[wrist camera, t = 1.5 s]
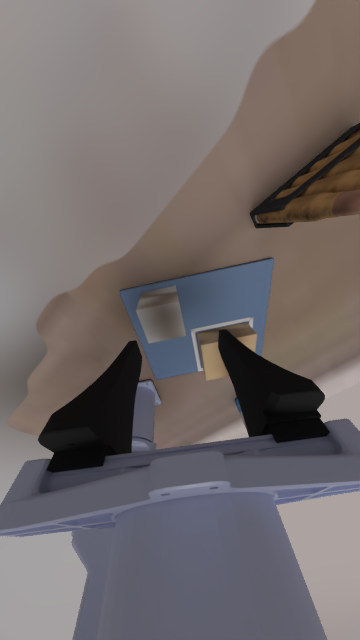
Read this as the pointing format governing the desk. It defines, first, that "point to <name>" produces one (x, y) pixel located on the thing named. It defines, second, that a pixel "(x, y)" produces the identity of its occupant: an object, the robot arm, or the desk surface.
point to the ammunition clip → (317, 187)
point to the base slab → (210, 350)
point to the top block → (161, 314)
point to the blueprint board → (205, 312)
